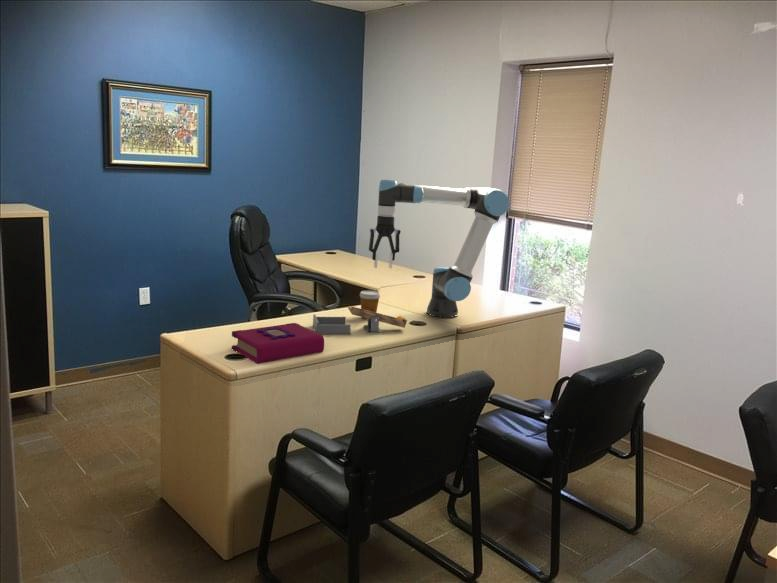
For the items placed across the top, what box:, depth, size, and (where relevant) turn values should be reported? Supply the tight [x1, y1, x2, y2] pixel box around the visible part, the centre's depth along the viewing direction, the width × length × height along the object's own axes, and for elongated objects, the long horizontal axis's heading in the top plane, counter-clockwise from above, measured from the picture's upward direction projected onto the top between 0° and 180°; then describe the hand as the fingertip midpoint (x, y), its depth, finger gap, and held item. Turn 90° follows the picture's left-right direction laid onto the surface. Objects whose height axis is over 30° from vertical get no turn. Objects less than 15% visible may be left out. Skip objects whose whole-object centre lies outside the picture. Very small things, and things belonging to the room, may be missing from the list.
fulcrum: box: [363, 317, 383, 334], centre depth 278 cm, size 6×11×7 cm, turn 13°
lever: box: [347, 305, 408, 329], centre depth 281 cm, size 24×11×3 cm, turn 103°
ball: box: [395, 315, 405, 321], centre depth 280 cm, size 3×3×3 cm
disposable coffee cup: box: [359, 290, 381, 320], centre depth 297 cm, size 10×10×12 cm
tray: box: [312, 314, 351, 335], centre depth 274 cm, size 14×14×5 cm
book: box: [231, 322, 325, 364], centre depth 242 cm, size 21×28×8 cm
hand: (382, 267), depth 288 cm, fingers open, 6 cm apart
